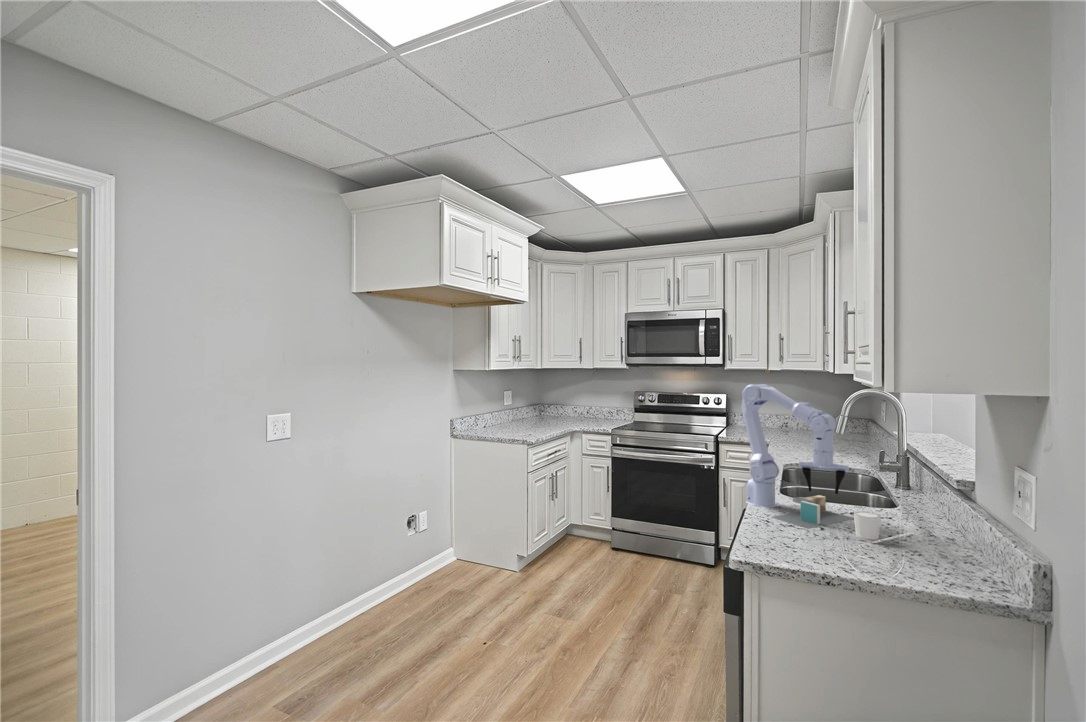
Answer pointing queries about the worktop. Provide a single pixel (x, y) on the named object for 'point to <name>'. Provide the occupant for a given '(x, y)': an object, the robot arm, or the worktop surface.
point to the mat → (825, 519)
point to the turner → (813, 501)
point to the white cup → (867, 525)
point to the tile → (810, 512)
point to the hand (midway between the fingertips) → (823, 492)
